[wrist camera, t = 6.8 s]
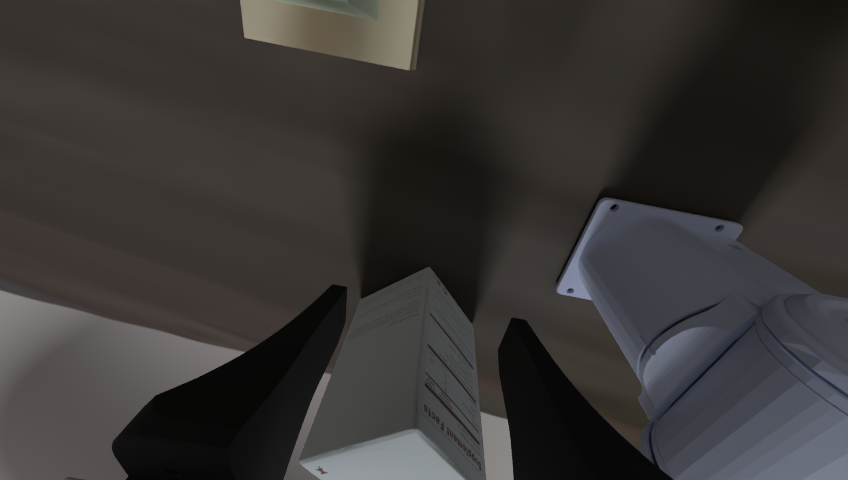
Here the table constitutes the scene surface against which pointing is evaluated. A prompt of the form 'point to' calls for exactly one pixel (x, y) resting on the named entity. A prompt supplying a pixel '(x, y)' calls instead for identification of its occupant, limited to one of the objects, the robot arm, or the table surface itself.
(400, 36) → the beech base
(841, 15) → the table surface
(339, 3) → the sage cube
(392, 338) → the supplement box
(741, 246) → the robot arm
